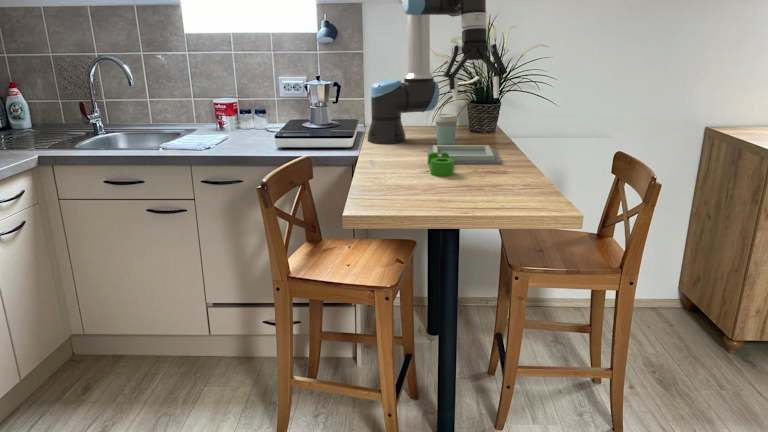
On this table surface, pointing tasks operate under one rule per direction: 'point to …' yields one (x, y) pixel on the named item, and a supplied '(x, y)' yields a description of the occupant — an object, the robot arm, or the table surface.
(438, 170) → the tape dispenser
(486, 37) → the robot arm
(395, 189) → the table surface
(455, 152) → the slot board
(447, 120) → the coffee cup
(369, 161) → the butter knife
